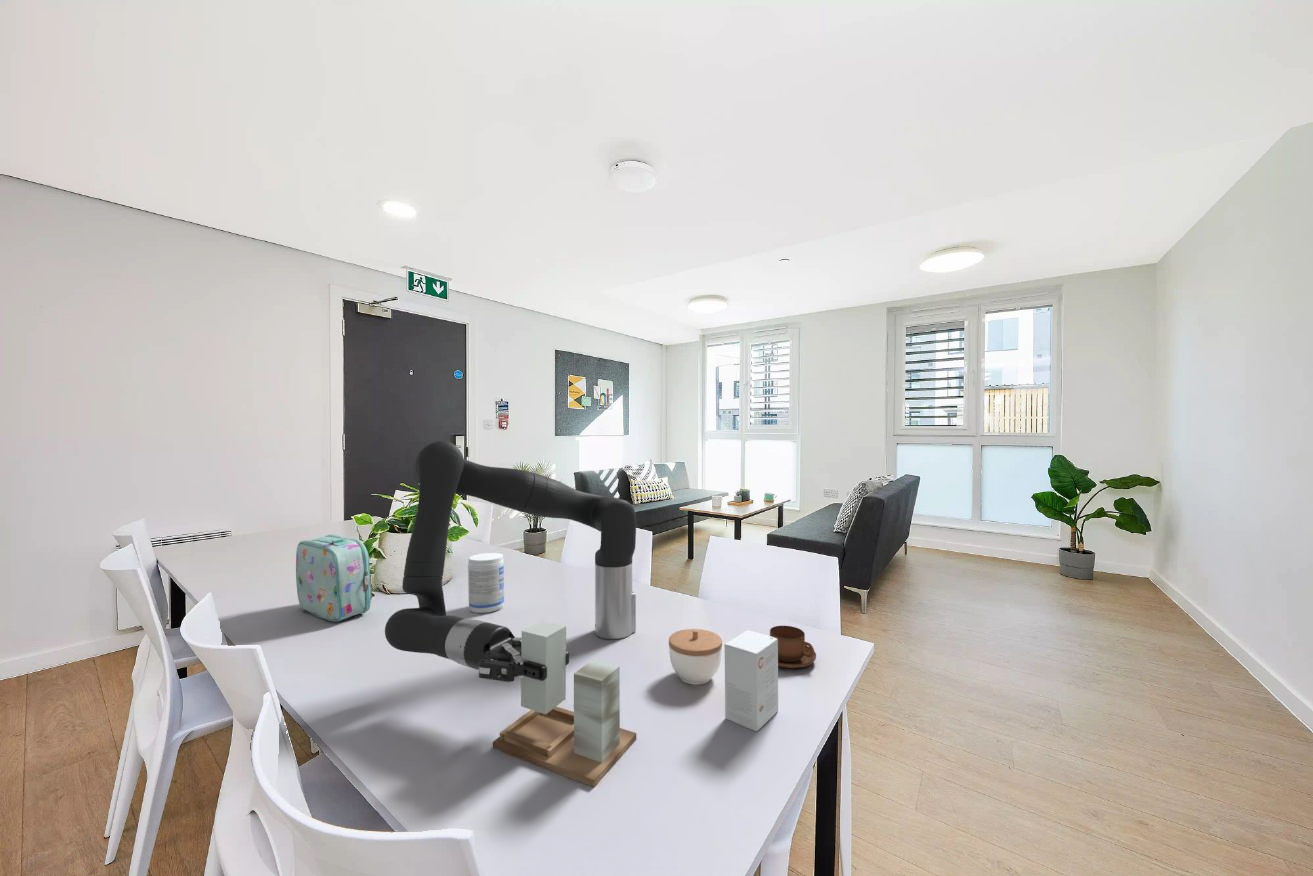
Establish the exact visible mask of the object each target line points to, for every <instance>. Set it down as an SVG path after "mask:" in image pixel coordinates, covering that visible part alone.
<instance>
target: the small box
mask: <svg viewBox="0 0 1313 876" xmlns="http://www.w3.org/2000/svg"><path fill="white" fill-rule="evenodd" d="M724 712H725V715H724V716H725V719H726V720H729V721H731V722H733V723H735V724H737V725H740V726H742V727H744V728H747V729H749V730H751V731H754V732H758V731H759V730H760V729H761V728H762V727H763V726H764V725H765V724H766V723H767V722H769V720H770V719H772V717H774V716H775V715H776V714H777V713H778V712H779V666H778V639H777V638H774V637H771V636H770V635H767V634H763V633H761V632H756V631H753V630H749V629H747V630H745V631H743V632H741V633H740V634H738V635H737V636H735V637H734V638H732V639H730V640H729V641H727V642H726V643H724Z"/></svg>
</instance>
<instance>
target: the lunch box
mask: <svg viewBox="0 0 1313 876" xmlns="http://www.w3.org/2000/svg"><path fill="white" fill-rule="evenodd" d="M370 570H371V569H370V556H369V552H368V549H367V547H366V546H365V544H364V543H363V542H361V540H358V539H353V538H346V537H342V536H340V535H337V534H332V533H331V534H327V535H324V536H320V537H317V538H312V539H307V540H301V541H299V542H298V543H297V547H296V554H295V578H296V579H295V581H296V591H297V593H296V594H297V600H298V603H299V606H300V608H301V609H303V610H304V611H306V612H308V613H311V614H312V615H314V616H315V617H316V618H321V619H324V620H327V621H330V622H334V623H335V622H340V621H343V620H346V619H348V618H351V617H353V616H356V615H359V614H365V613H367V612H368V611H369V610H370V607H371V603H372V602H371V601H372V599H373V594H372V584H371V574H370V573H371V572H370Z"/></svg>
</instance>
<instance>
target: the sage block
mask: <svg viewBox="0 0 1313 876" xmlns="http://www.w3.org/2000/svg"><path fill="white" fill-rule="evenodd" d="M521 638H522V640H521V658H523V659H525V660H526V662H527V661H532V662H536V663H539V664H543V665H545V666H547V678H546V679H545V680H543V681H540V680H537V679H533V678H529V677H526V676H525V677H523V678H520V707H522V708H526V709H528V710H534V711H537V712H540V713H543V714H547V713H548V712H550V711H551V710H552V709H553V708H555V707H556V706H557V707H558V706H559V705H560V704H561V703H562V702H564V701H565V700H566V698H567V695H566V692H567V691H566V690H567V689H566V688H567V686H566V684H567V682H566V681H567V665H566V651H567V625H563V624H559V623H555V622H550V621H546V620H541V621H538V622H536V623H535V624H533V625H531V626H529V627H526V628H525V629H523V630H521Z"/></svg>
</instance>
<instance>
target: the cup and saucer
mask: <svg viewBox="0 0 1313 876" xmlns="http://www.w3.org/2000/svg"><path fill="white" fill-rule="evenodd" d="M769 636H771V637H774V638H777V639H778V667H781V668H787V669H800V668H806V667H808V666H810V665H811V664H814V662H815V661H816V658H817V653H816V652H815V648H814V646H813V645H812V644H811V643H810V642H808V641H805V639H806V635H805V632H804V631H803V630H802V629H800V628H798V627H796V626H791V625H775V626H773V627H771V628H770V629H769Z"/></svg>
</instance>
